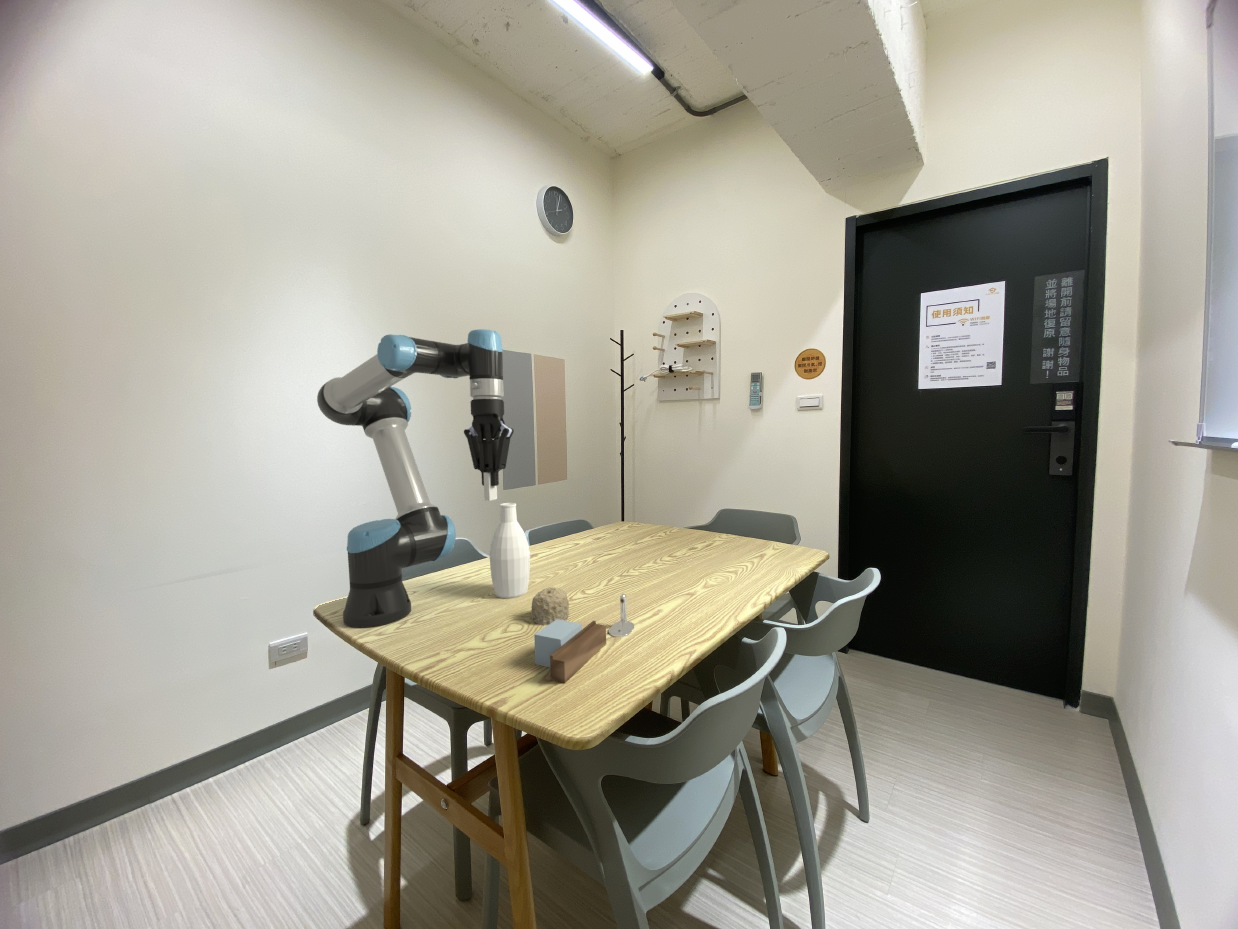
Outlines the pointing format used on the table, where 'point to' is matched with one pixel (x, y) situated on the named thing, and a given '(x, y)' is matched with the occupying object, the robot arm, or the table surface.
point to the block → (553, 639)
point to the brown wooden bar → (577, 652)
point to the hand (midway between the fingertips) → (490, 499)
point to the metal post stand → (622, 621)
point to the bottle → (509, 555)
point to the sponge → (550, 606)
